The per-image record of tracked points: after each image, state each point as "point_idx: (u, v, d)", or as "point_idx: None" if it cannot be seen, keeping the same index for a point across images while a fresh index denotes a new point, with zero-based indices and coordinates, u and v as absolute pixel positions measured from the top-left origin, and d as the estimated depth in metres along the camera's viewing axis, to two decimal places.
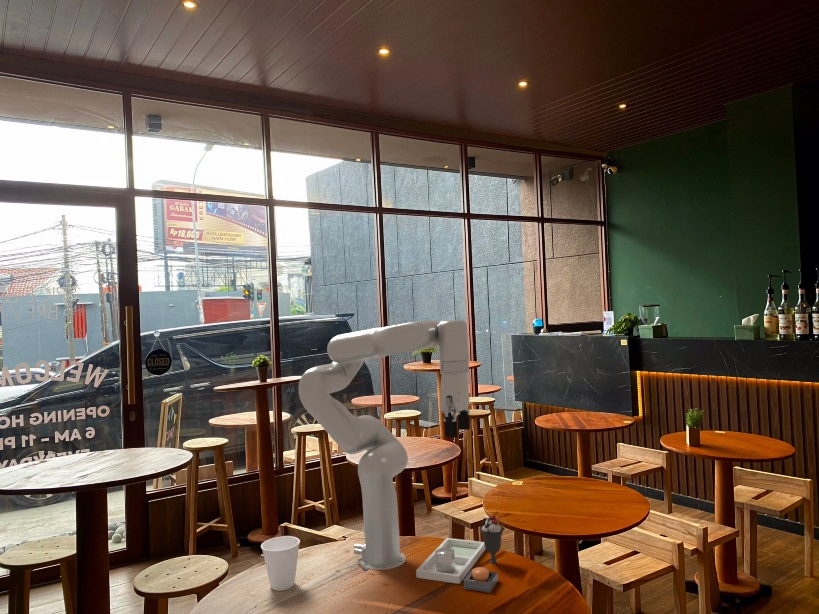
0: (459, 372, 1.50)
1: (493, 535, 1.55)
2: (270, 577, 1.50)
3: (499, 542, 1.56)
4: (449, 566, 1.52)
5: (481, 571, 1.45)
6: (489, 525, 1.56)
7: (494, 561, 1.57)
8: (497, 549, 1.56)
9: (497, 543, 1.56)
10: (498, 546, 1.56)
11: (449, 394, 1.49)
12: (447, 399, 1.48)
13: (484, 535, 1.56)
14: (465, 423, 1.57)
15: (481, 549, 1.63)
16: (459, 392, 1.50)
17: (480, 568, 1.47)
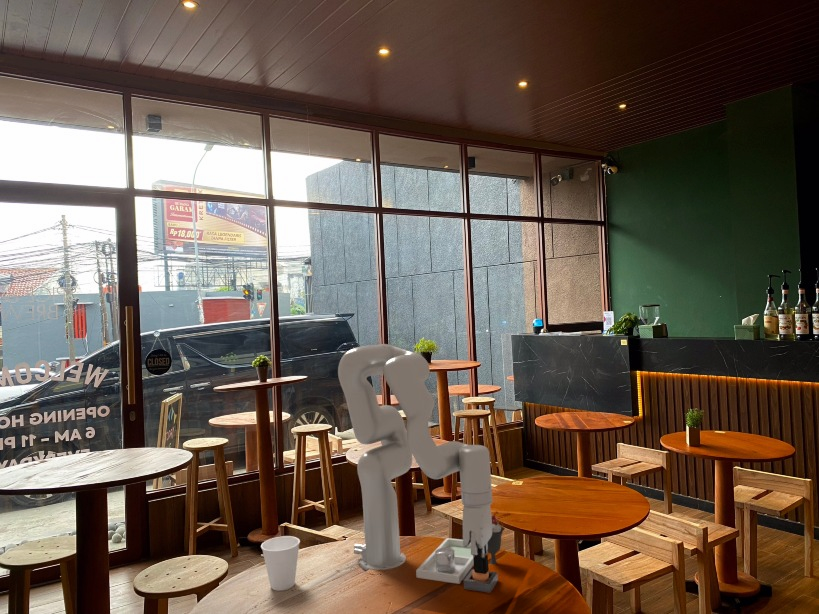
0: (482, 505, 1.42)
1: (493, 535, 1.55)
2: (270, 577, 1.50)
3: (499, 542, 1.56)
4: (449, 566, 1.52)
5: None
6: None
7: (494, 561, 1.57)
8: (497, 549, 1.56)
9: (497, 543, 1.56)
10: (498, 546, 1.56)
11: (472, 529, 1.41)
12: (473, 541, 1.41)
13: None
14: None
15: None
16: (482, 527, 1.41)
17: None
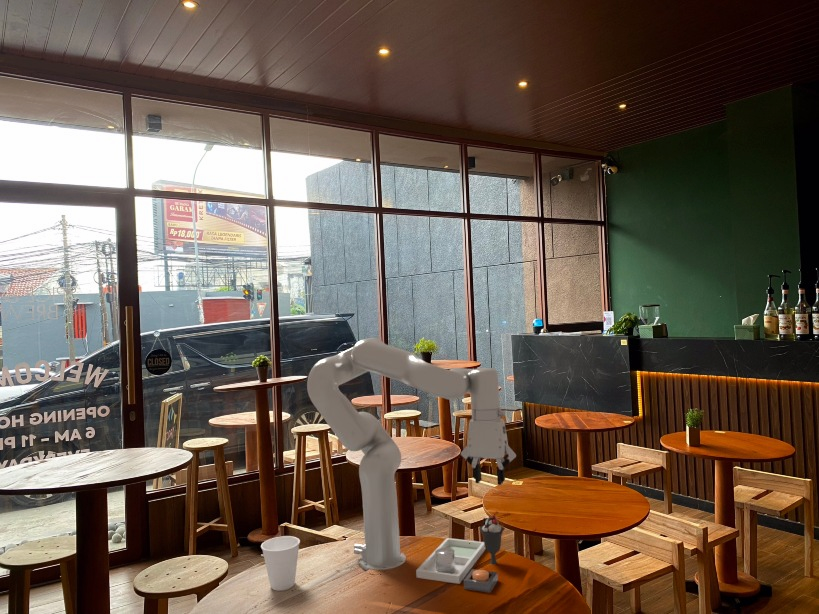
0: (472, 419, 1.57)
1: (493, 535, 1.55)
2: (270, 577, 1.50)
3: (499, 542, 1.56)
4: (449, 566, 1.52)
5: (481, 574, 1.45)
6: (489, 525, 1.56)
7: (494, 561, 1.57)
8: (497, 549, 1.56)
9: (497, 543, 1.56)
10: (498, 546, 1.56)
11: None
12: (467, 445, 1.60)
13: (484, 535, 1.56)
14: None
15: (481, 549, 1.63)
16: (472, 438, 1.57)
17: (480, 571, 1.47)
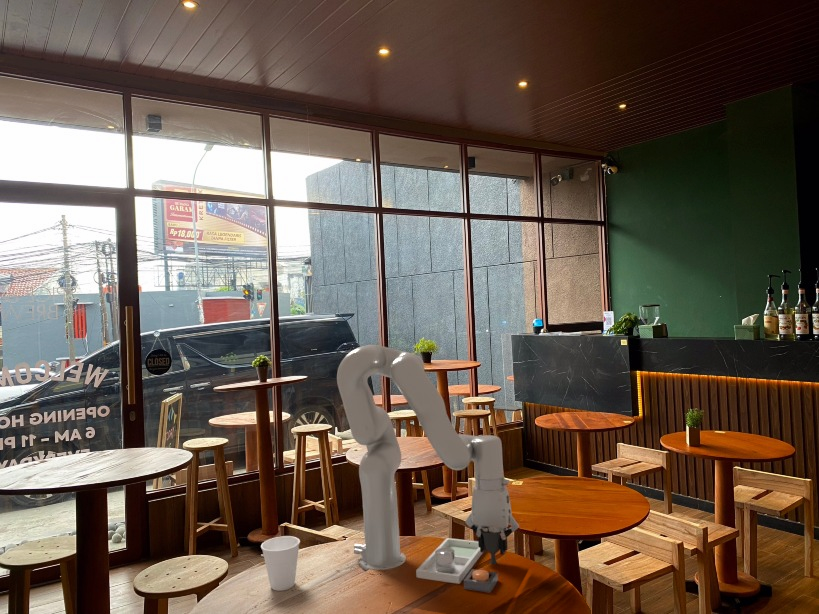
0: (476, 488, 1.57)
1: (493, 535, 1.55)
2: (270, 577, 1.50)
3: (499, 542, 1.56)
4: (449, 566, 1.52)
5: (481, 574, 1.45)
6: None
7: (494, 561, 1.57)
8: (497, 549, 1.56)
9: (497, 543, 1.56)
10: (498, 546, 1.56)
11: None
12: (471, 513, 1.60)
13: (484, 535, 1.56)
14: None
15: None
16: (475, 507, 1.57)
17: (480, 571, 1.47)
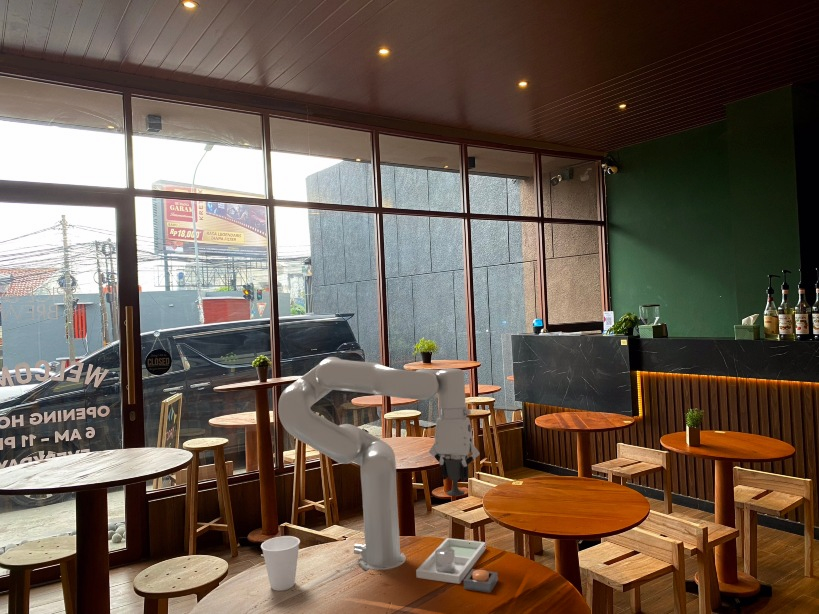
0: (439, 418, 1.63)
1: (455, 462, 1.61)
2: (270, 577, 1.50)
3: None
4: (449, 566, 1.52)
5: (481, 574, 1.45)
6: None
7: (456, 488, 1.63)
8: (459, 476, 1.62)
9: (459, 470, 1.62)
10: (460, 473, 1.62)
11: None
12: None
13: (446, 462, 1.63)
14: None
15: (481, 549, 1.63)
16: (438, 436, 1.64)
17: (480, 571, 1.47)
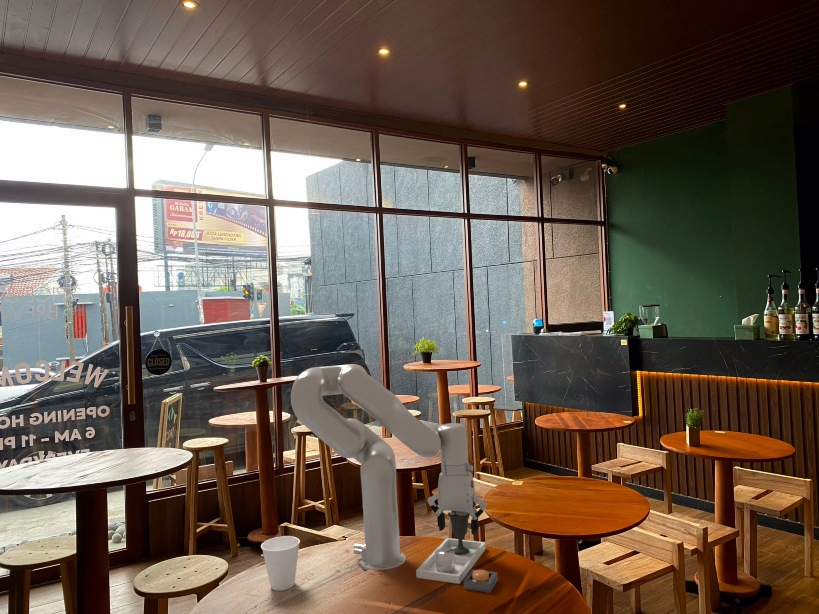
0: (442, 474, 1.63)
1: (460, 518, 1.64)
2: (270, 577, 1.50)
3: (466, 526, 1.65)
4: (449, 566, 1.52)
5: (481, 574, 1.45)
6: None
7: (461, 545, 1.65)
8: (464, 533, 1.64)
9: (464, 527, 1.64)
10: (465, 530, 1.65)
11: None
12: (436, 494, 1.67)
13: (451, 519, 1.65)
14: None
15: (481, 549, 1.63)
16: (441, 492, 1.63)
17: (480, 571, 1.47)
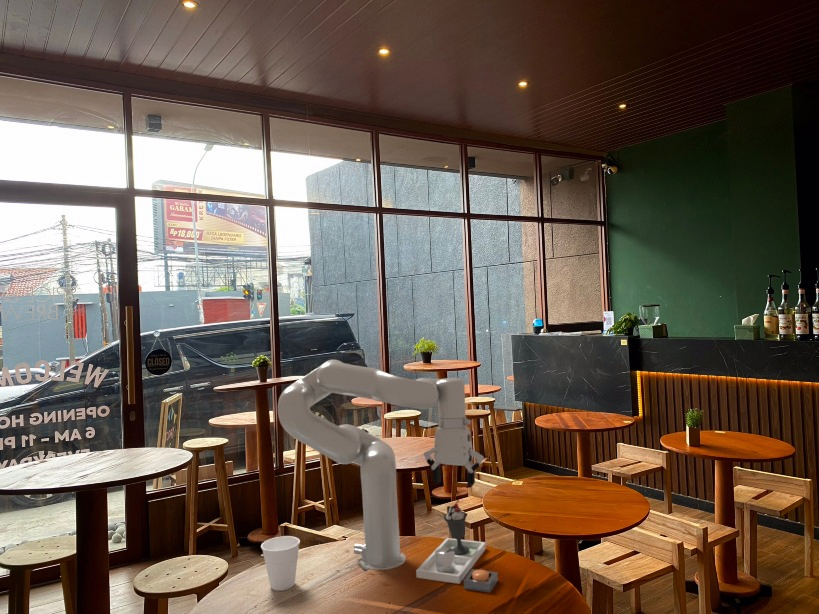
0: (439, 427, 1.63)
1: (456, 522, 1.62)
2: (270, 577, 1.50)
3: (463, 528, 1.64)
4: (449, 566, 1.52)
5: (481, 574, 1.45)
6: (452, 513, 1.63)
7: (460, 546, 1.65)
8: (462, 535, 1.63)
9: (461, 529, 1.63)
10: (462, 532, 1.63)
11: None
12: (432, 448, 1.67)
13: (448, 523, 1.64)
14: None
15: (481, 549, 1.63)
16: (438, 445, 1.64)
17: (480, 571, 1.47)
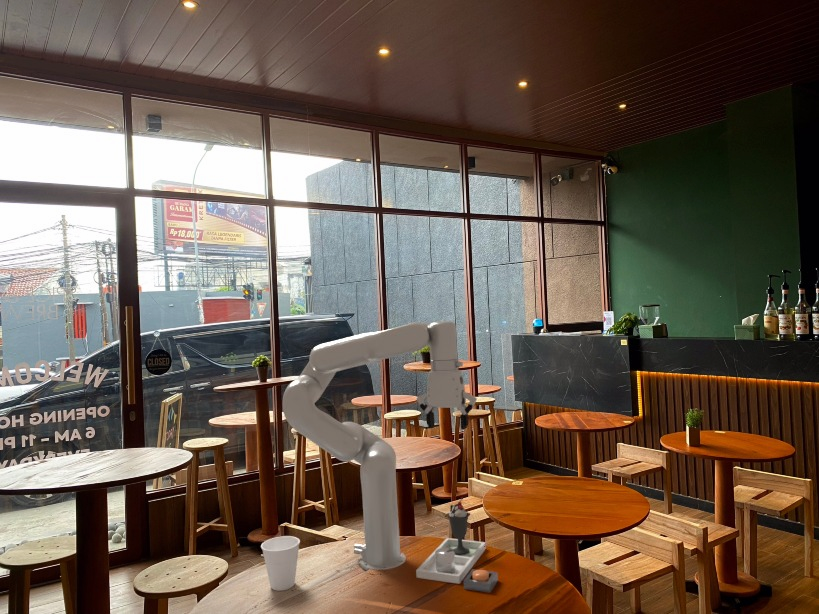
0: (431, 370, 1.63)
1: (459, 520, 1.63)
2: (270, 577, 1.50)
3: (465, 527, 1.64)
4: (449, 566, 1.52)
5: (481, 574, 1.45)
6: (455, 510, 1.65)
7: (461, 546, 1.65)
8: (463, 533, 1.64)
9: (463, 528, 1.64)
10: (464, 531, 1.64)
11: None
12: None
13: (450, 520, 1.65)
14: None
15: (481, 549, 1.63)
16: (430, 388, 1.63)
17: (480, 571, 1.47)
